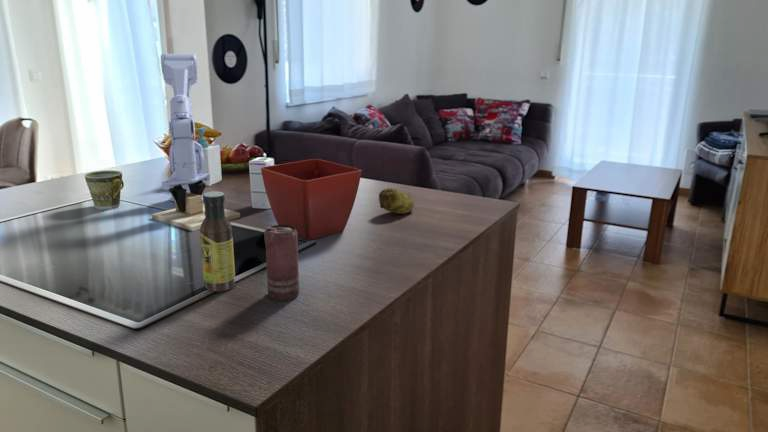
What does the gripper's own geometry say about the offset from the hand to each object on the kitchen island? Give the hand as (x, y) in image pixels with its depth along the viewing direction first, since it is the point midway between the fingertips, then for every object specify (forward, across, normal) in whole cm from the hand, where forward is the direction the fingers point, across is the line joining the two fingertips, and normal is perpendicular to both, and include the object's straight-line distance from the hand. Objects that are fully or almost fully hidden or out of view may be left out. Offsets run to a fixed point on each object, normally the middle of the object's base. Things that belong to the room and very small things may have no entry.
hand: (189, 209), depth 166 cm
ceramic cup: (+2, -9, +25) cm, 27 cm away
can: (+2, -22, -59) cm, 63 cm away
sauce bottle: (+2, -27, -46) cm, 53 cm away
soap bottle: (+2, +28, +29) cm, 40 cm away
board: (+2, 0, -3) cm, 4 cm away
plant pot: (+2, +12, -36) cm, 38 cm away
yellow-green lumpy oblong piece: (+2, +39, -45) cm, 60 cm away
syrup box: (+2, +20, -9) cm, 22 cm away
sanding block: (+1, 0, 0) cm, 1 cm away
